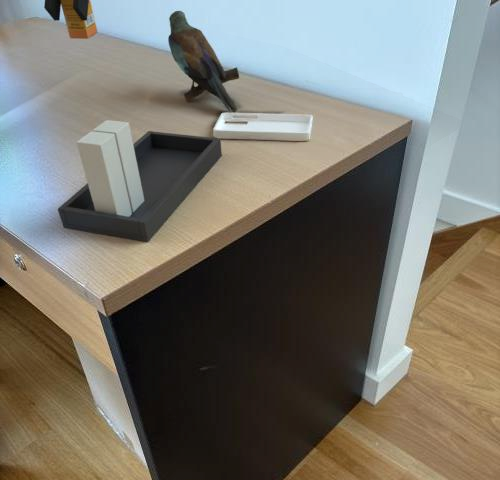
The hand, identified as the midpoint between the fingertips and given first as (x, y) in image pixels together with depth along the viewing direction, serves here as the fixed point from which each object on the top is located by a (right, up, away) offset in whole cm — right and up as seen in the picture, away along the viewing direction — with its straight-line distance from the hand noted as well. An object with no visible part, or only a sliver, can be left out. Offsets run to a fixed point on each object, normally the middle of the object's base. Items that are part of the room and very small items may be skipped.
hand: (65, 13), depth 70 cm
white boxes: (+9, -29, -6) cm, 31 cm away
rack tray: (+12, -24, -1) cm, 27 cm away
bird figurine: (+18, -1, +23) cm, 29 cm away
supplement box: (+1, 0, +5) cm, 6 cm away
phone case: (+28, -12, +11) cm, 32 cm away
